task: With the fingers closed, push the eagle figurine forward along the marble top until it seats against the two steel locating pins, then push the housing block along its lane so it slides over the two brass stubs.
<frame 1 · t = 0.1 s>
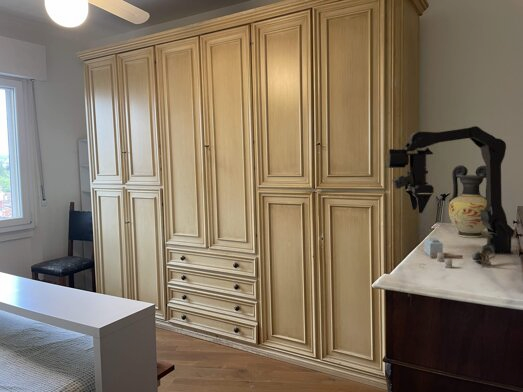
hand: (417, 211, 146), 15 cm above the dresser top, tool pointing down, fingers open, 9 cm apart
eagle figurine: (484, 265, 129), on the dresser top
housing block: (433, 246, 142), point 3 cm above the dresser top, slide at 0.0 cm
pin seat fixture: (451, 259, 135), on the dresser top
amphora: (469, 236, 174), on the dresser top
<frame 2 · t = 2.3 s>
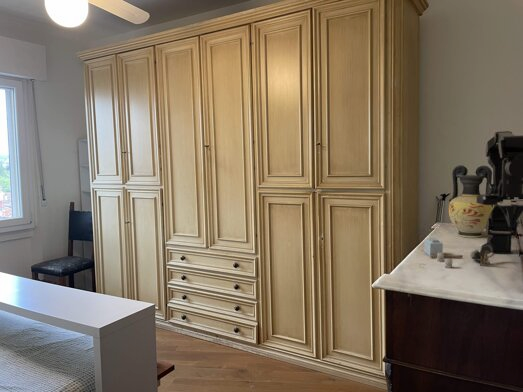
hand: (510, 227, 126), 12 cm above the dresser top, tool pointing down, fingers closed
eagle figurine: (482, 264, 130), on the dresser top
everything else where it was.
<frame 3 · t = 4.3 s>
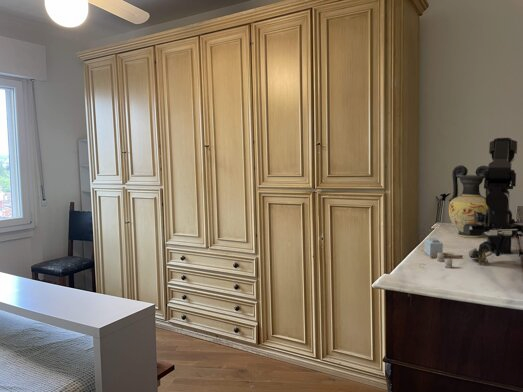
hand: (497, 256, 128), 3 cm above the dresser top, tool pointing down, fingers closed
eagle figurine: (480, 262, 131), on the dresser top, touching gripper
everything else where it was.
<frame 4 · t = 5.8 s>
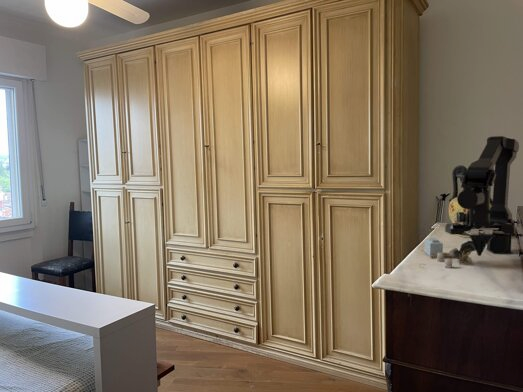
hand: (479, 255, 128), 3 cm above the dresser top, tool pointing down, fingers closed
eagle figurine: (464, 262, 132), on the dresser top, touching gripper
everything else where it was.
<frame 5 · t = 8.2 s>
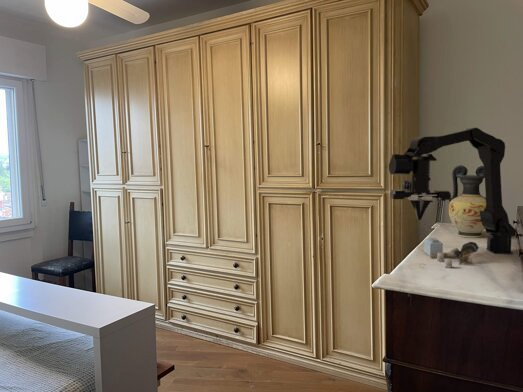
hand: (419, 219, 140), 13 cm above the dresser top, tool pointing down, fingers closed
eagle figurine: (464, 262, 132), on the dresser top, touching pin seat fixture
everything else where it was.
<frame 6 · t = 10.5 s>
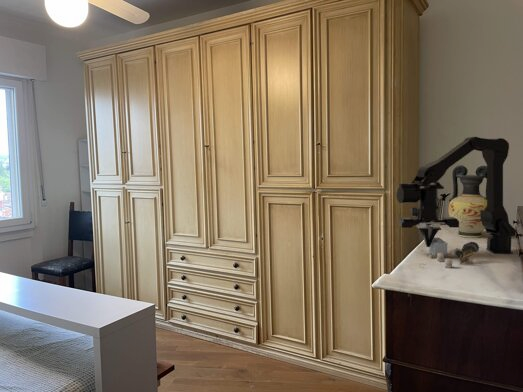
hand: (427, 246, 142), 3 cm above the dresser top, tool pointing down, fingers closed
eagle figurine: (465, 262, 132), on the dresser top
housing block: (437, 246, 141), point 3 cm above the dresser top, slide at 1.5 cm, touching gripper
everything else where it was.
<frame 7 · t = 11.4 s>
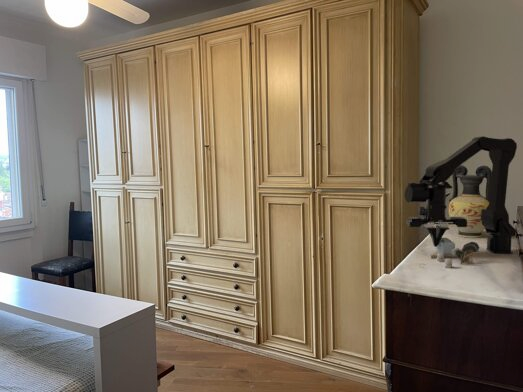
hand: (435, 246, 141), 3 cm above the dresser top, tool pointing down, fingers closed
housing block: (445, 246, 141), point 3 cm above the dresser top, slide at 4.0 cm, touching gripper
everything else where it was.
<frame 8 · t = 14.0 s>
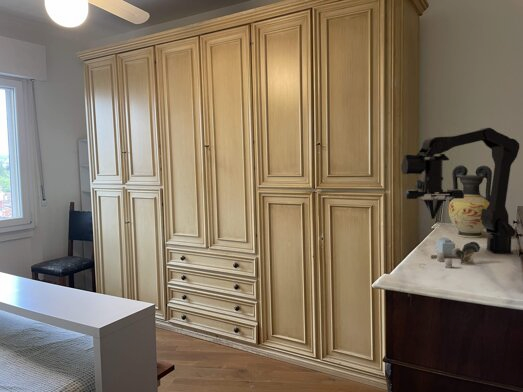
hand: (432, 218, 142), 12 cm above the dresser top, tool pointing down, fingers closed
housing block: (445, 246, 141), point 3 cm above the dresser top, slide at 4.0 cm
everything else where it was.
at the end: eagle figurine inside the target area (4.1 cm from its centre), on the dresser top; eagle figurine tilted 0°; housing block slide at 4.0 cm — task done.
